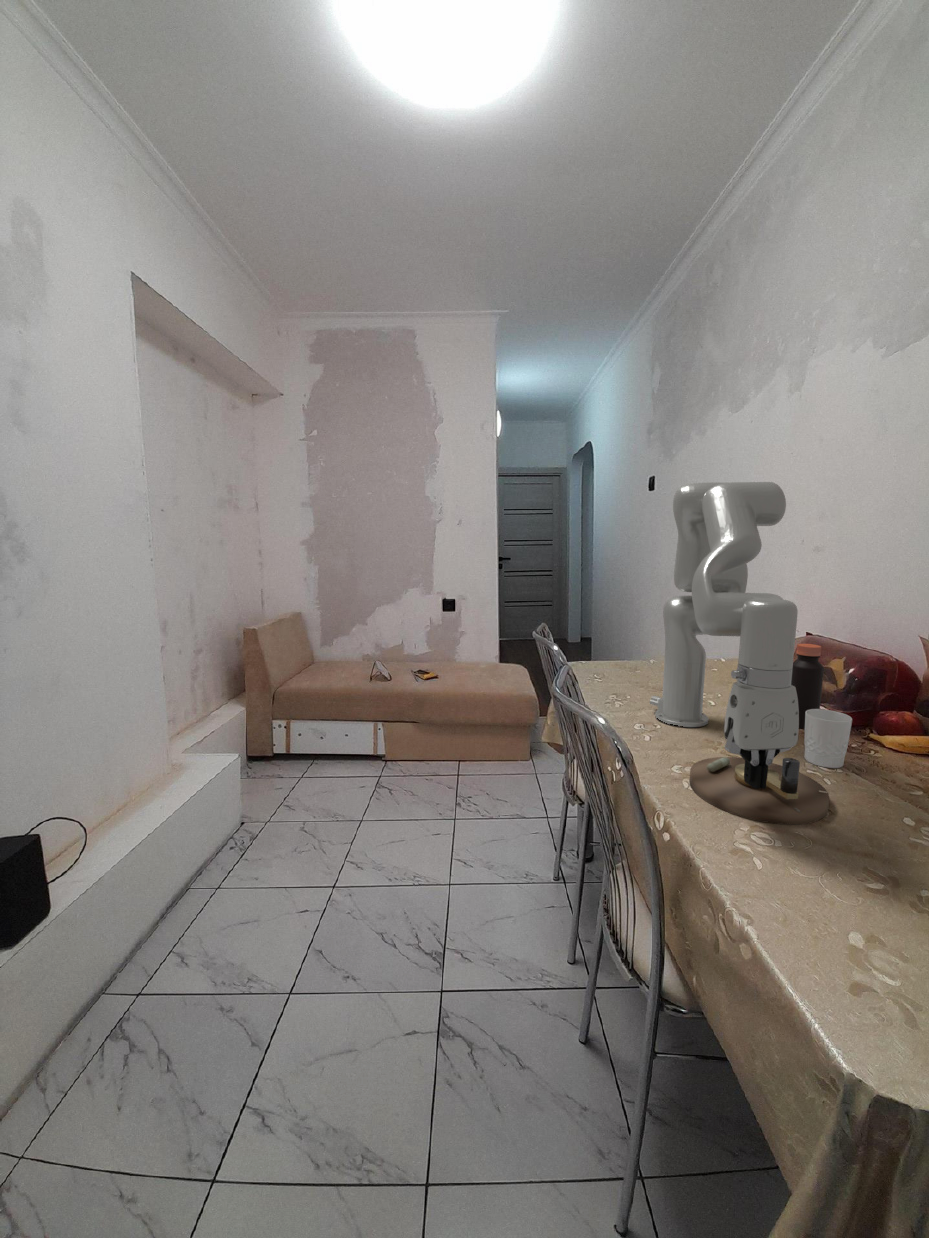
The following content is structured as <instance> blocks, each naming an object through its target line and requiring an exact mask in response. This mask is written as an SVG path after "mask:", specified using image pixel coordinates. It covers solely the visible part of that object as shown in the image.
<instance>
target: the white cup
mask: <svg viewBox="0 0 929 1238" xmlns="http://www.w3.org/2000/svg"><path fill="white" fill-rule="evenodd" d="M852 723H853V718H852V717H851V716H850V715H848V714H846V713H843V712H840V711H836V710H830V709H823V708H820V709H810V710H807V711H806V712H805V729H804V740H803V741H804V742H803V743H804V756H803V757H804V759H805V760H806V762H808V763H810V764H812V765H815V766H817V767H818V766H819V767H823V768H829V769H839V768H842V767H844V762H845V757H846V754H847V749H848V746H849V741H850V734H851V731H852V730H851V729H852Z"/></svg>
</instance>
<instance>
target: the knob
mask: <svg viewBox="0 0 929 1238" xmlns="http://www.w3.org/2000/svg"><path fill="white" fill-rule="evenodd" d="M781 764H782V765H781V766H782V774H781V781H779V774H778V773H777V772H776V771H774V770H772V769H770V768H768V774H767V781H766V788H765V789H772V790H774V791H775V792H777V793H778V794H780V795H781V796H782V797H784V798H785V799H798V792H797V788H798V777H799V772H800V766H801V765H800V764H801V761H800V760H798V759H796V758H792V757H784V758H782V763H781ZM744 767H745V764H739V765H737V766H736V767H735V776H734V777H735V779H736V780H737V781H738V782H740V783H742V784H744V785H747V786H750V785H749V784H747V783H746V782H745V781H744ZM750 787H752V786H750ZM759 789H761V788H759Z"/></svg>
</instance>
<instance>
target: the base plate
mask: <svg viewBox="0 0 929 1238" xmlns="http://www.w3.org/2000/svg"><path fill="white" fill-rule="evenodd" d="M739 764H745V760H744V759H743V758H742V757H738V756H737V757H736V756H717V757H708V758H705V759H701V760H698V761H697V762H695V763H694V764H693V765H692V766H691V767H690V771H689V786H690V788H691V789H692V791H693V793H695V794H696V795H697V797H699V798H700V799H701V800H702V801H704V802H707V803H708V804H710V805H711V806H713V807H715V808H718V809H719V810H721V811H724V812H727V813H730V814H731V815H734V816H738V817H741V818H745V819H749V820H752V821H757V822H762V823H768V824H778V825H805V824H810V823H811V824H812V823H814V822H818V821H820V820H822V819H823V818H825V816H827V814H828V813H829V805H830V795H829V792H828V791H827V790H826V788H825V787H824V786H823V785H822V784H820V783H819V782H818V781H816V780H815V779H814V778H812V777H810V776H808V775H807V774H804V773H802V772H800V771H799V777H798V788H797V792H798V799H785V798H784V797H782V796H781V795H780V794H778V793H777V792H775V791H774V790H772V789H754V788H753V787H750V786H747V785H744V784H742V783H740V782H738V781H737V780H736V779H735V777H734V776H735V767H736V766H737V765H739ZM768 768H770V769H772V770H774V771H776V772H777V773H778V774H779V781H781V774H782V765H781V764H777V763H772V764H771V765H768Z"/></svg>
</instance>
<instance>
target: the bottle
mask: <svg viewBox="0 0 929 1238" xmlns="http://www.w3.org/2000/svg"><path fill="white" fill-rule="evenodd" d="M821 655H822V646H821V645H818V644H813V643H798V644H797V645H796V656H797V659H795V660H793V668H792V679H791V685H792V686H794V687H795V688H796V692H797V698H798V708H799V729H800V730H801V729H803V730H805V712H806V711H807V710H810V709H821V701H822V691H823V683H824V682H823V681H824V672H825V668H824V666H823V665H822V664H821V661H819V658H821V657H820V656H821Z"/></svg>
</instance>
